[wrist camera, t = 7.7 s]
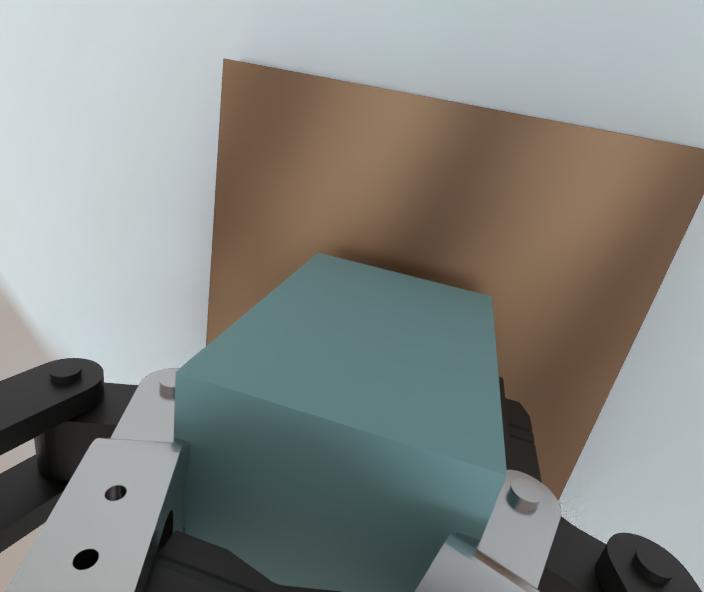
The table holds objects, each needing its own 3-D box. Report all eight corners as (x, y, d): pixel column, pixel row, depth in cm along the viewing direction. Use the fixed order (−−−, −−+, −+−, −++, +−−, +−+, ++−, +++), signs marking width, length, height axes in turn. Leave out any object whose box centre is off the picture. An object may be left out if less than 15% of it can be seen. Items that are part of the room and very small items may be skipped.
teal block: (491, 296, 13) (507, 475, 6) (445, 440, 15) (420, 688, 8) (318, 252, 13) (175, 372, 7) (296, 394, 15) (168, 588, 9)
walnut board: (706, 150, 13) (723, 152, 12) (537, 517, 18) (540, 538, 17) (238, 62, 15) (223, 58, 14) (213, 412, 20) (201, 425, 20)
